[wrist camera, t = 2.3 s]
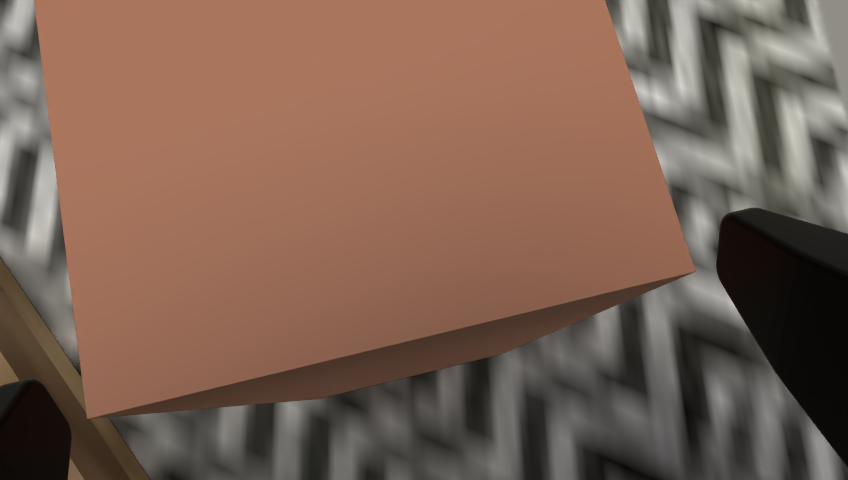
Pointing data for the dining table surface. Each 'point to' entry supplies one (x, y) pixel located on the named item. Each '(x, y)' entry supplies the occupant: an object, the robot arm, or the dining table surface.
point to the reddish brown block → (340, 189)
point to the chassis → (59, 387)
